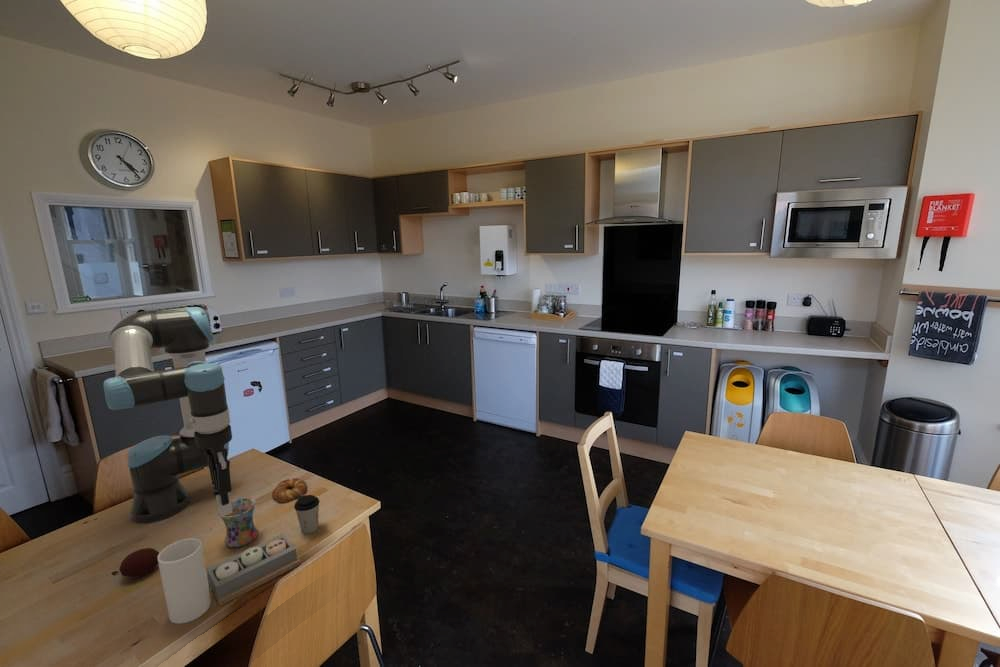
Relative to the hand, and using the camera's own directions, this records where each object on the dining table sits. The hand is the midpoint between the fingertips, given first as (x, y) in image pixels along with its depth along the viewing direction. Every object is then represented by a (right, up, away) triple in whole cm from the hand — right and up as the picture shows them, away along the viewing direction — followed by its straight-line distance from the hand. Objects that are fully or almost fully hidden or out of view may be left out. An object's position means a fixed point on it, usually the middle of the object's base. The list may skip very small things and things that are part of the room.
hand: (225, 513), depth 112 cm
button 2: (+5, -14, +3) cm, 16 cm away
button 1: (+1, -16, -1) cm, 16 cm away
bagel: (-3, -10, +40) cm, 41 cm away
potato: (-25, -17, +4) cm, 31 cm away
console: (+5, -17, +4) cm, 18 cm away
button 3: (+9, -14, +7) cm, 19 cm away
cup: (-3, -20, -8) cm, 21 cm away
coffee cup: (+13, -13, +21) cm, 28 cm away
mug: (-6, -14, +18) cm, 23 cm away
